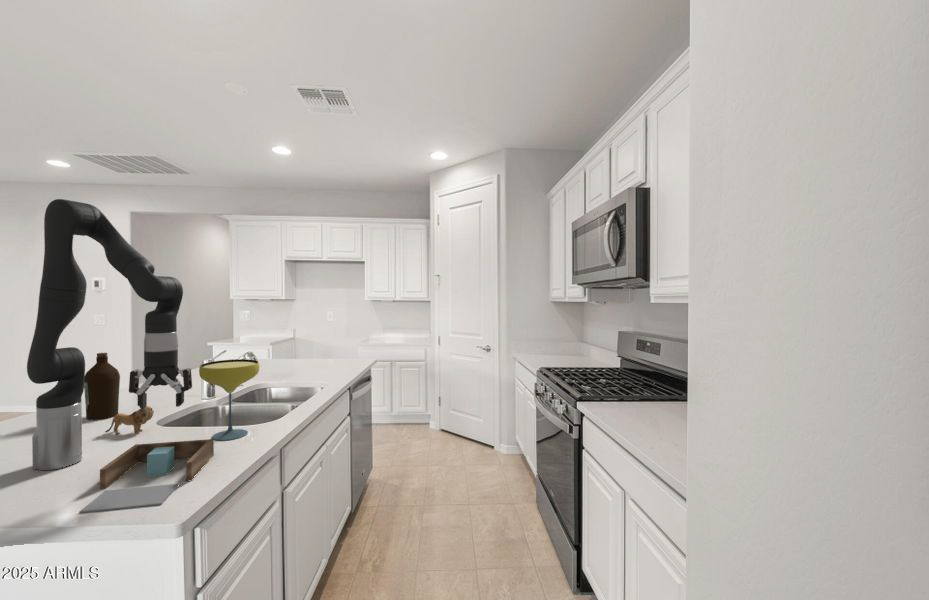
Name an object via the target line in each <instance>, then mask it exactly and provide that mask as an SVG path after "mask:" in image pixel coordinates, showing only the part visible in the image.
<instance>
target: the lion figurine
mask: <svg viewBox="0 0 929 600" xmlns="http://www.w3.org/2000/svg"><path fill="white" fill-rule="evenodd" d="M154 412H155V411H154V409H153V407H152V406H149V405H147V406H146V407H145V408H139V409H138V410H135V411H134V412H132V413H131V414H126V413H118V414H117V415H116V416H115V417H112V418H113V419H112V421H111V424H110V427H109V428H108V429H106V430H105V431H104V433H109V432H110V431H111V430H112V429H113V432H114V434H115V435H121V432H120V431H119V427H120V426H121V425H122V424H123V425H125V426H133V433H134V434H135V435H139V434H140V432H143V429H142V428H141V427H142V425H145V424H147V422H148V421H149V420H151V419H152V418H153V416H154V414H155V413H154ZM113 426H114V427H113Z"/></svg>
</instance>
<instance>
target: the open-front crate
mask: <svg viewBox="0 0 929 600" xmlns="http://www.w3.org/2000/svg"><path fill="white" fill-rule="evenodd" d="M214 441H215V440H214V439H212V438H209V439H208V438H207V439H196V440H184V441H183V440H182V441H168V442H152V443H140V444H134V445H133V446H132V447H130V448H128V449H127V450H126V451H124V452H123V453H121V454H120V455H118V456H117V457H116V458H114V459H113V460H112V461H110V462H108V463H107V464H106V465H104V466H103V467H101V468H100V469H99V489H100V490H106V489H107V488H109V487H110V486H111V485H112V484H113V483H115V482H116V481H117V480H119V479H120V478H121V477H123V475H124V473H125V472H126V471H127V472H129V471H130V470H131V469H132V468H133V467H135V466H136V465H137V464H140V463H139V462H141V463H147V454H149V453H150V452H151V451H153V450H154V449H155V448H159V447H173V446H174V461H176V459H178V460H187V462H186V463H185V464H186V467H185V468H186V470H185V471H186V473H185V474H186V482H188V481H187V480H192V479H193V478H194V479H195V477H196V476H197V475H198V474H199V473H200V472H201V470H202V469H203V468H204V467H205V466H206V465H207V464H208V463H209V461H210V460H211V459H212V458H213V457H214V456H215V455H214V454H215V453H214V448H215V447H214V446H215V445H214ZM211 457H212V458H211ZM187 458H190V459H187ZM210 458H211V459H210ZM209 459H210V460H209ZM135 464H136V465H135ZM205 464H206V465H205ZM134 465H135V466H134ZM204 465H205V466H204ZM203 466H204V467H203ZM202 467H203V468H202ZM130 468H131V469H130ZM201 468H202V469H201ZM129 469H130V470H129ZM199 471H200V472H199ZM127 472H126V473H127ZM198 472H199V473H198ZM126 473H125V474H126ZM197 473H198V474H197ZM196 474H197V475H196ZM195 475H196V476H195ZM120 476H121V477H120ZM194 476H195V477H194ZM119 477H120V478H119ZM194 479H193V480H194ZM193 480H192V481H193ZM114 481H115V482H114ZM109 485H110V486H109Z"/></svg>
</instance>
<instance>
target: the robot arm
mask: <svg viewBox="0 0 929 600" xmlns="http://www.w3.org/2000/svg"><path fill="white" fill-rule="evenodd" d="M43 220H44V221H43V222H44V223H43V230H44V235H43V236H44V243H43V244H44V251H43V252H44V254H43V255H44V256H43V266H42V274H41V275H42V276H41V280H40V287H39V295H38V306H37V314H36V315H37V316H36V322H35V327H34V328H35V329H34V333H33V335H32V336H33V337H32V341H31V343H30V344H31V345H30V348H29V352H28V356H27V362H26V373H27V376H28V379H29V381H31V382H32V383H34V384H37V385H40V384H49V383H54V382H57V383H56V384H55V385H54V387H53V388H51V389H50V390H47V391H46V392H44V393H42V394H41V395H38V397H37V398H36V401H35V405H36V406H35V409H36V412H35V413H36V414H35V415H36V417H35V418H36V420H35V421H36V433H34V434H33V435H32V437H31V438H32V440H31V441H32V442H31V443H32V444H31V447H32V449H31V450H32V453H31V454H32V470H38V471H39V470H40V471H51V470H57V469H63V468H66V466H67V467H70V466H73V465H76V464H78V463H79V461H80V460H81V459H82V460H83V448H82V447H83V438H82V436H83V434H82V432H83V431H82V430H83V427H82V426H83V424H82V423H83V422H82V421H83V420H82V417H83V416H82V414H83V413H82V398H83V397H82V396H83V394H84V392H85V390H84V378H85V374H86V360H85V356H84V353H83V352H82V350H81V349H79V348H77V347H75V346H74V347H71V346H70V347H69V346H68V347H60V348H57V345H58V342H59V340H60V337H61V336H62V333H63V332H64V330H65V329H66V328H67V327H68V326H69V325H70V323H71V322H73V320H74V319H75V318H76V317H77V316H78V315H79V314H80V312H81V311H82V309H83V308H84V305H85V302H86V296H87V279H86V277H85V275H84V273H83V270H82V269H81V267H80V266H79V263H78V262H77V261H76V258H75V256H74V251H73V250H74V249H73V242H74V241H73V240H74V236H82V237H89V238H90V239H92V240H94V241H96V242H97V243H99V244H100V245H101V246H102V248H103V250H104V254H105V258H106V259H107V262H108V263H109V264H110V265H111V266H112V268H114V270H116V271H117V272H118V273H119V274H121V275H122V276H123V277H124V278H125V279H127V281H128V282H129V285H130V286H131V288H132V289H133V291H134V292H135V293H136V295H137V296H138V297H140V298H141V299H142V300H144V301H146V302H150V303H157V304H156V307H155V309H153V310H150V311H149V312H147V313H145V317H144V339H143V367H144V368H143V370H140V369H134V370H131V371H130V372H129V380H128V381H129V382H128V383H129V384H128V393H130V394H136V396H137V407H139V409H141V408H145V407H146V406H148V403H147V401H148V400H147V396H148V395H147V393H146V392H147V391H148V390H149V388H151V386H153V387H157V386H169V387H170V388H172V389H173V390H174V391H175V392H176V393H175V407H181V406H182V405H183V404H184V402H185V392H186V391H187V392H188V391H189V390H191V389H192V388H193V378H192V368H190V367H187V368H181V369H180V368H179V366H178V364H179V362H178V361H179V359H178V358H179V354H178V353H179V349H178V348H179V339H178V334H177V331H178V330H177V328H178V327H177V326H178V325H177V324H178V323H177V316H178V313H179V310H180V307H181V304H182V301H183V296H184V289H183V284H182V282H181V281H180V280H179V279H178V278H176V277H173V276H162V275H161V276H159V275H158V276H157V275H155V274H154V273H155V266H154V265H153V263H152V262H151V261H150V260H148V259H147V258H146V257H145V256H144V255H142V254H141V253H140V252H139V251H138V250H136V248H135V247H133V246H132V245H131V244H130V243H129V242H128V241H127V240H126V239H125V238H124V237H123V236H122V235H121V233H120V232H119V230H117V228H116V227H115V226H114V225H113V223H111V221H110V220H109V219H108V217H107V216H106V215H105V214H104V213H103V212H102V211H101V209H99V208H98V207H96V206H95V205H93V204H91V203H90V204H89V203H86V202H81V201H75V200H69V199H65V198H64V199H62V198H57V199H53V200H52V201H50V202H49V203H48V204H47V206H46V209H45V213H44V218H43ZM179 374H180V376H181V377H182V380H183V383H181V381H180V379H178V378H177V377H178V375H179ZM142 376H143V378H144V379H145V381H144V382H143V384H142V385H141V386H140V387H139V385H140V378H141V377H142ZM82 460H81V461H82ZM81 461H80V462H81ZM77 462H78V463H77ZM75 463H76V464H75ZM72 464H73V465H72ZM69 465H70V466H69ZM62 467H63V468H62Z"/></svg>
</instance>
